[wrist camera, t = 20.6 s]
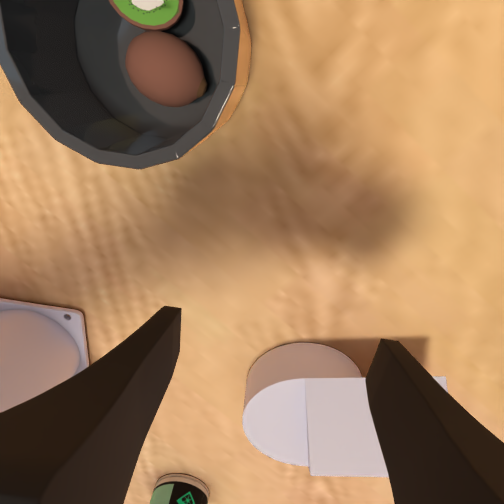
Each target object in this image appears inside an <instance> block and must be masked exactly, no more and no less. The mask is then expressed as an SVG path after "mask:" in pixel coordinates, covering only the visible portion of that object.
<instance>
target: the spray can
mask: <svg viewBox="0 0 504 504" xmlns="http://www.w3.org/2000/svg"><path fill="white" fill-rule="evenodd" d="M208 497H209V490H208V488H207V487H206V485H205V484H204V483H203V482H202V481H200V480H198V479H197V478H194V477H192V476H189V475H184V474H169V475H166V476H163V477H161V478H160V479H159V480H158V481H157V483H156V486H155V488H154V491H153V494H152V498H151V501H150V504H208V499H209V498H208Z"/></svg>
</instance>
